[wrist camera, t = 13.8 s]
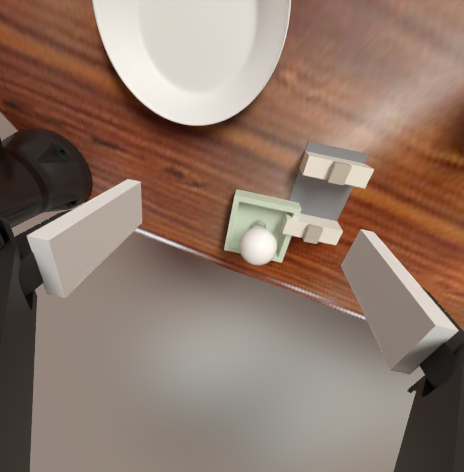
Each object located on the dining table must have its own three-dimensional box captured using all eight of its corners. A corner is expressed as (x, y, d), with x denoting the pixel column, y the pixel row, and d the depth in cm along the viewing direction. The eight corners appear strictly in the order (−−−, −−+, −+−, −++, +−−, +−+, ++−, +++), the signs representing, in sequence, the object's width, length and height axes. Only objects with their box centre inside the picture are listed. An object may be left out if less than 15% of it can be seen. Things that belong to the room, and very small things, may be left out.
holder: (278, 228, 46) (280, 243, 41) (307, 140, 37) (314, 146, 32) (326, 238, 46) (334, 255, 41) (366, 153, 37) (383, 161, 32)
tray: (226, 242, 49) (223, 250, 46) (236, 189, 42) (234, 195, 40) (280, 253, 48) (281, 262, 46) (299, 202, 42) (301, 209, 40)
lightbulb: (250, 242, 47) (246, 277, 38) (238, 216, 45) (230, 247, 35) (279, 233, 45) (283, 267, 36) (268, 205, 43) (269, 234, 33)
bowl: (83, 45, 34) (65, 39, 31) (162, -210, 23) (146, -259, 20) (214, 155, 40) (210, 160, 37) (330, -3, 29) (338, -16, 25)
